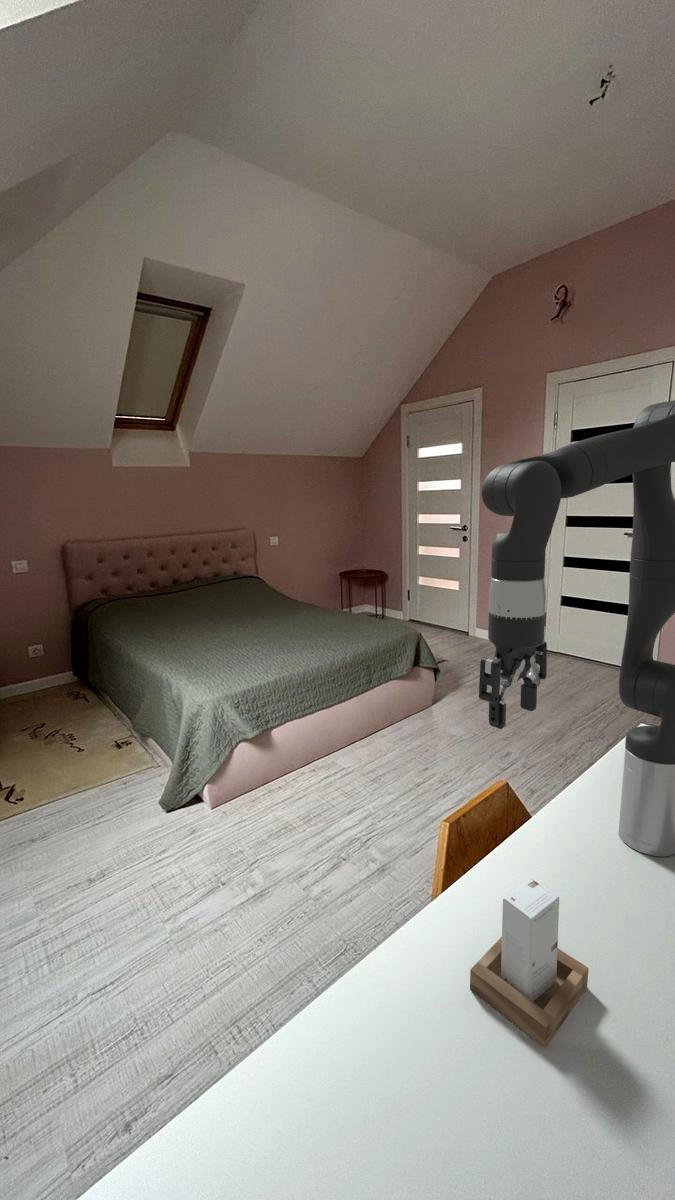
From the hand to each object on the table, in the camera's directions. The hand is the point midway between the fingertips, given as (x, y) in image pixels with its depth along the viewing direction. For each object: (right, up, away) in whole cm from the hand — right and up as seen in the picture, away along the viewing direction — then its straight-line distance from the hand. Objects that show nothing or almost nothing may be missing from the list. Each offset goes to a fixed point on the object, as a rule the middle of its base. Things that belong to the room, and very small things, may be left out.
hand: (513, 717), depth 75 cm
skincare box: (-1, -32, -9) cm, 33 cm away
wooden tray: (-1, -32, -10) cm, 34 cm away
